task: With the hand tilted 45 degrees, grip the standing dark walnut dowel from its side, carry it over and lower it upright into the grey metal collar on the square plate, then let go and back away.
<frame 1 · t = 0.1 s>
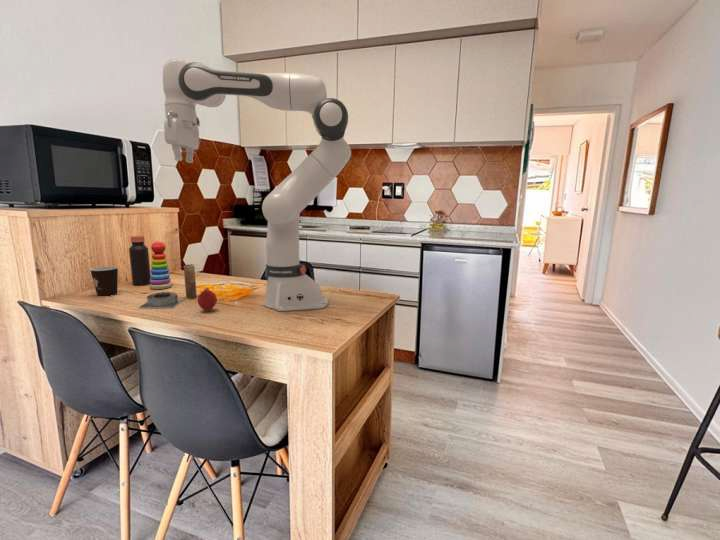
hand: (184, 161, 128), 48 cm above the table, tool pointing down, fingers open, 8 cm apart
onion: (208, 311, 130), on the table
stacking toy: (161, 288, 159), on the table
bottle: (142, 284, 164), on the table
coffee mug: (107, 294, 149), on the table
collar: (162, 303, 138), on the table
dowel: (191, 297, 146), on the table
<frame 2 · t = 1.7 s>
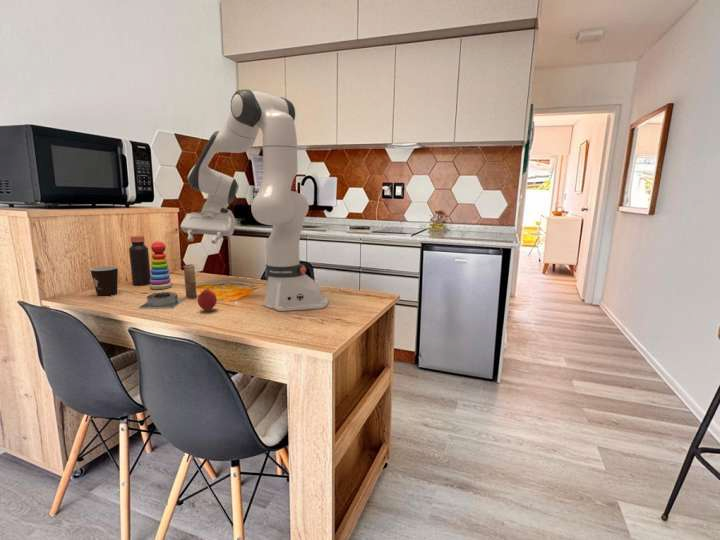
hand: (201, 241, 152), 19 cm above the table, tool tilted 45°, fingers open, 8 cm apart
nothing on the table moved.
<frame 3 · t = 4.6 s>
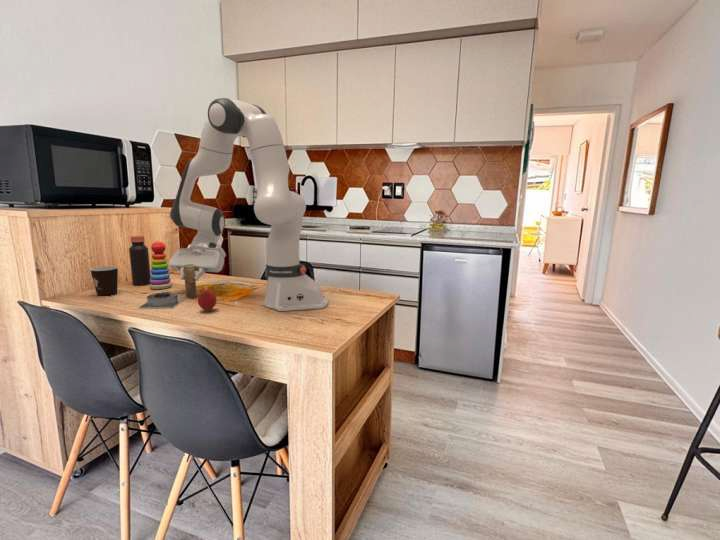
hand: (189, 279, 144), 7 cm above the table, tool tilted 45°, fingers closed on dowel, 4 cm apart
dowel: (191, 297, 146), on the table, touching gripper
everything else where it was.
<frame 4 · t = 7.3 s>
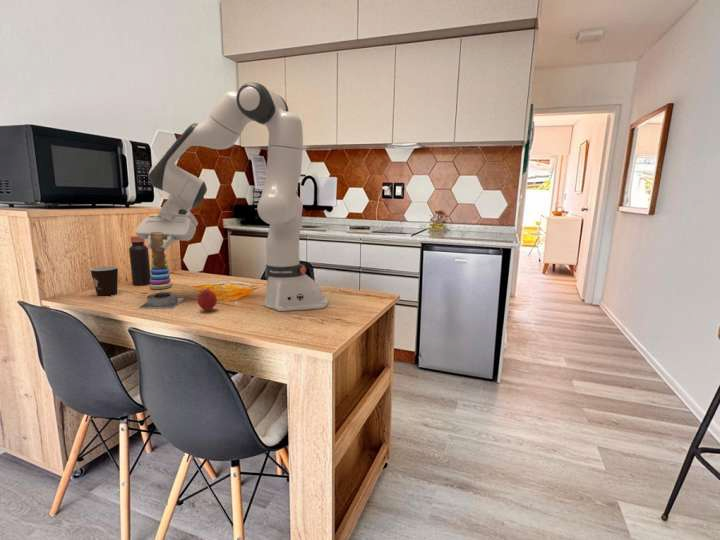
hand: (156, 248, 133), 20 cm above the table, tool tilted 45°, fingers closed on dowel, 4 cm apart
dowel: (159, 267, 135), point 13 cm above the table, touching gripper
everything else where it was.
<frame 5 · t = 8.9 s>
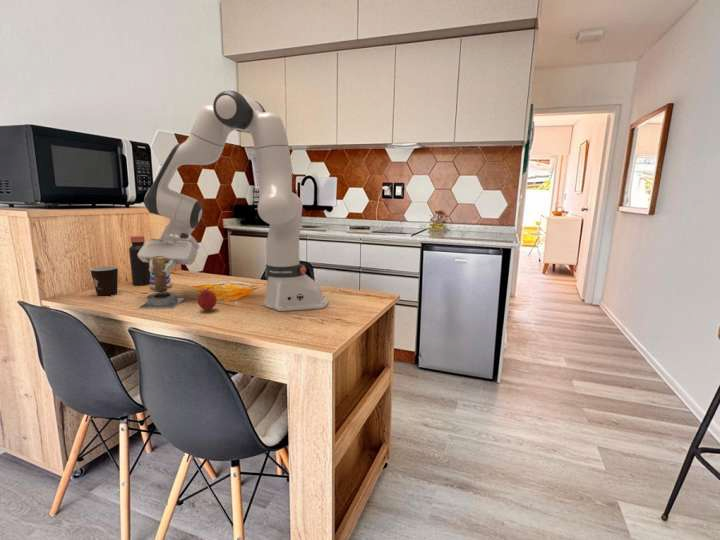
hand: (158, 272, 135), 11 cm above the table, tool tilted 45°, fingers closed on dowel, 4 cm apart
dowel: (161, 291, 137), point 5 cm above the table, touching gripper
everything else where it was.
when the fingers open (9 cm above the table, at t = 9.9 s): dowel drops 1 cm, resting on collar.
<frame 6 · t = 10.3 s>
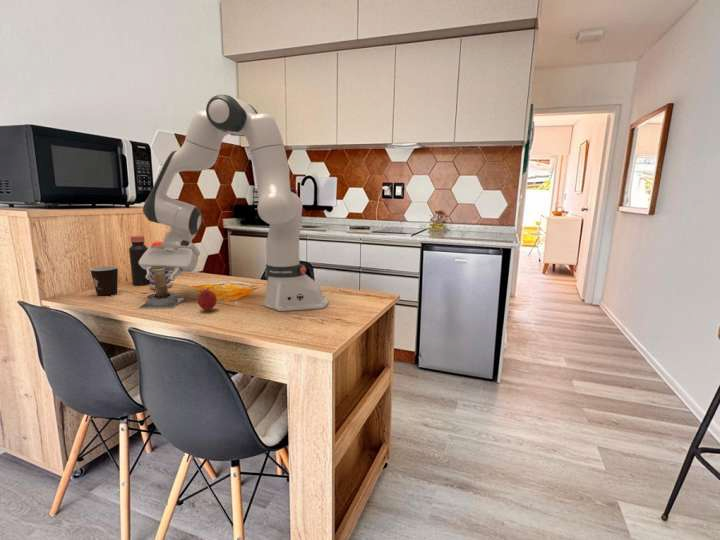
hand: (159, 279, 135), 9 cm above the table, tool tilted 45°, fingers open, 7 cm apart
dowel: (162, 302, 137), resting on collar
everything else where it was.
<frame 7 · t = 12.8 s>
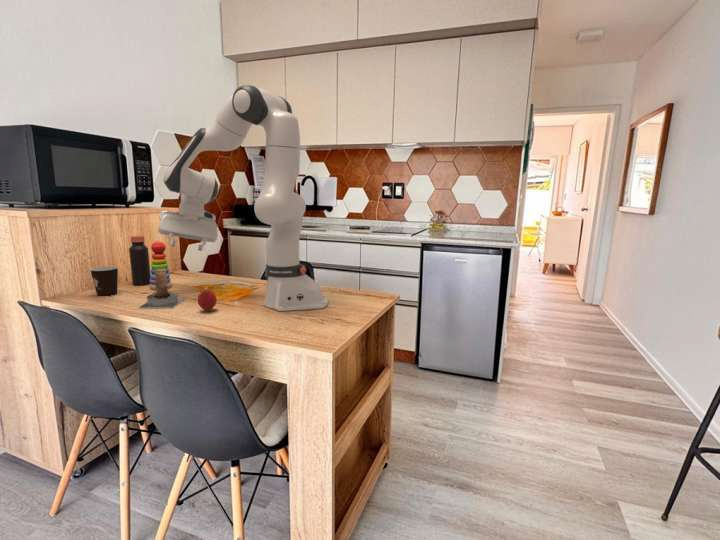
hand: (186, 247, 145), 18 cm above the table, tool tilted 35°, fingers open, 8 cm apart
nothing on the table moved.
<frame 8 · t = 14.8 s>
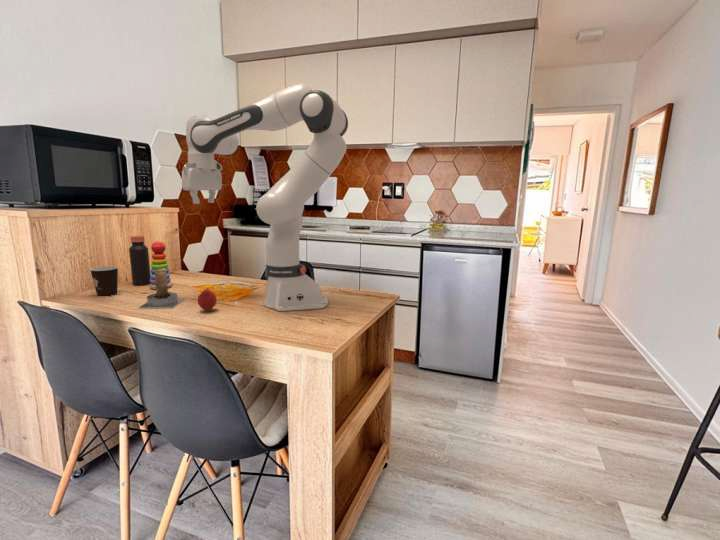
hand: (204, 203, 145), 34 cm above the table, tool pointing down, fingers open, 8 cm apart
nothing on the table moved.
at the end: dowel 0.0 cm off-centre on the collar, point 0.4 cm above the collar's base; dowel tilted 0°; the gripper is holding nothing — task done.
